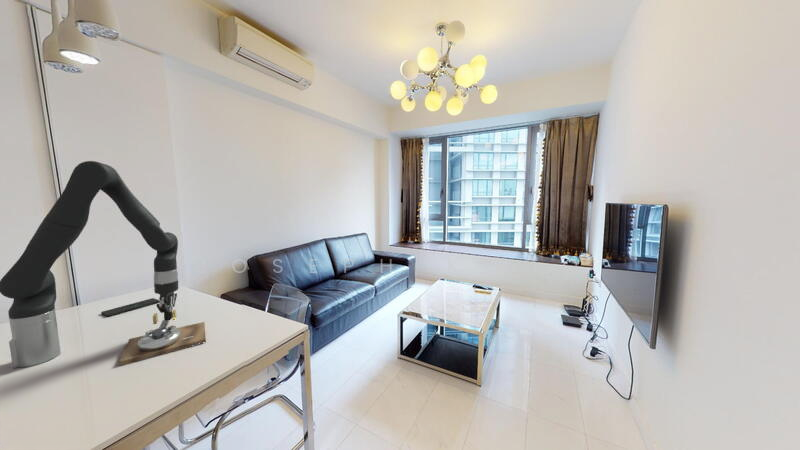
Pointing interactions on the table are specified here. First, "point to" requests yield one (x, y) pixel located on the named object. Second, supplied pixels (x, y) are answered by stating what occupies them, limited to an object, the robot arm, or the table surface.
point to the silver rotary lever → (159, 335)
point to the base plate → (187, 338)
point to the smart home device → (129, 307)
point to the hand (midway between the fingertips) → (168, 319)
